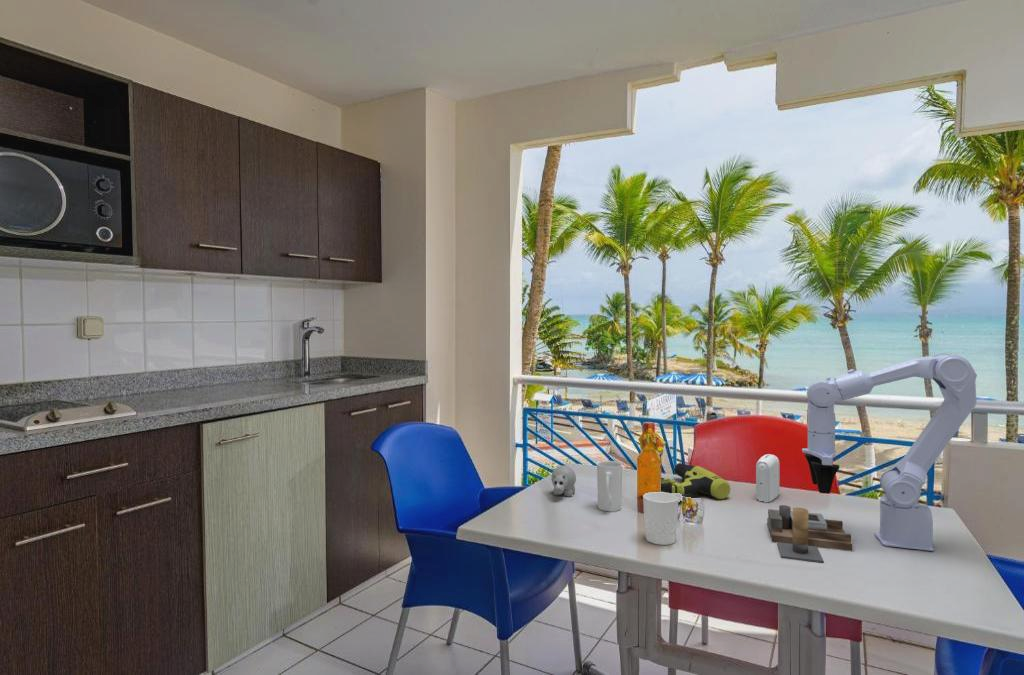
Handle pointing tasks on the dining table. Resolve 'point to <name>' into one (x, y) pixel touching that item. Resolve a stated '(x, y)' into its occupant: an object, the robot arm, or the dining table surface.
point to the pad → (788, 552)
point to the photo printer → (767, 478)
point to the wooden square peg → (800, 530)
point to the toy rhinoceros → (563, 481)
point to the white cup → (660, 517)
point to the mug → (609, 485)
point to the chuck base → (826, 539)
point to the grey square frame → (813, 522)
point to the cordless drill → (696, 482)
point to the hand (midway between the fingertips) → (821, 488)
